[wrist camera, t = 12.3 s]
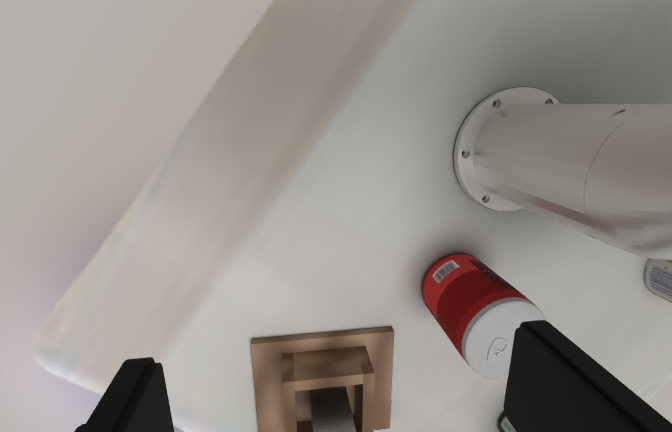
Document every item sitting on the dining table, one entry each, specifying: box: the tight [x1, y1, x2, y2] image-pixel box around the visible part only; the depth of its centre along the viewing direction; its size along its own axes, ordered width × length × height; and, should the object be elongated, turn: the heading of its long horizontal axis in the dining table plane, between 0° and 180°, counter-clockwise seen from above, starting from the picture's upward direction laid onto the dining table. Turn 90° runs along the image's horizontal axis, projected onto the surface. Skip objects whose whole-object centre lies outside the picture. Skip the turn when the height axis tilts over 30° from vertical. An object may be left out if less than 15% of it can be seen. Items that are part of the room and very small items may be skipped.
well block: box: [251, 326, 394, 432], centre depth 41 cm, size 16×14×6 cm
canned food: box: [422, 254, 546, 378], centre depth 37 cm, size 8×8×11 cm
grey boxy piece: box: [309, 386, 356, 432], centre depth 37 cm, size 4×6×12 cm, turn 1°
